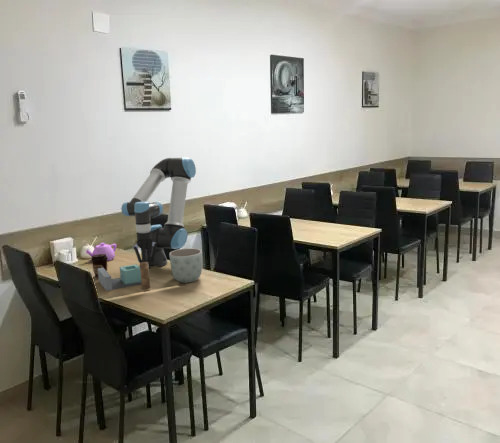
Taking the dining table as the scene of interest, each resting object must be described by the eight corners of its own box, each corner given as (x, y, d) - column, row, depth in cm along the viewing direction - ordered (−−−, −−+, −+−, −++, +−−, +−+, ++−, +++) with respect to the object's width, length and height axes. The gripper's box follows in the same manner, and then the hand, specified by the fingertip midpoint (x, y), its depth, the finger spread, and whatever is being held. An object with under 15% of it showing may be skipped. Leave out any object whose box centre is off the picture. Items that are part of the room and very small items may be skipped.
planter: (209, 281, 251) (207, 252, 248) (178, 287, 243) (176, 258, 240) (195, 273, 265) (193, 246, 263) (166, 279, 257) (164, 251, 254)
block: (137, 276, 259) (136, 264, 258) (142, 281, 251) (141, 268, 250) (120, 279, 255) (119, 267, 254) (125, 284, 247) (123, 271, 246)
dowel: (148, 288, 244) (146, 261, 241) (151, 290, 240) (149, 263, 237) (141, 289, 242) (138, 262, 239) (143, 292, 238) (141, 264, 236)
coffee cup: (104, 281, 258) (102, 257, 256) (90, 280, 260) (87, 257, 258) (112, 276, 267) (109, 253, 264) (98, 275, 268) (95, 253, 266)
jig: (138, 276, 264) (137, 262, 262) (147, 285, 248) (146, 269, 247) (98, 283, 254) (97, 268, 253) (106, 293, 239) (104, 277, 237)
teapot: (82, 261, 301) (80, 244, 299) (112, 254, 314) (111, 238, 312) (91, 265, 291) (89, 248, 289) (122, 258, 304) (120, 242, 301)
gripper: (153, 228, 259) (156, 271, 263) (129, 231, 252) (133, 275, 257) (158, 231, 252) (161, 274, 256) (133, 234, 246) (137, 278, 250)
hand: (147, 274), depth 257 cm, fingers closed
